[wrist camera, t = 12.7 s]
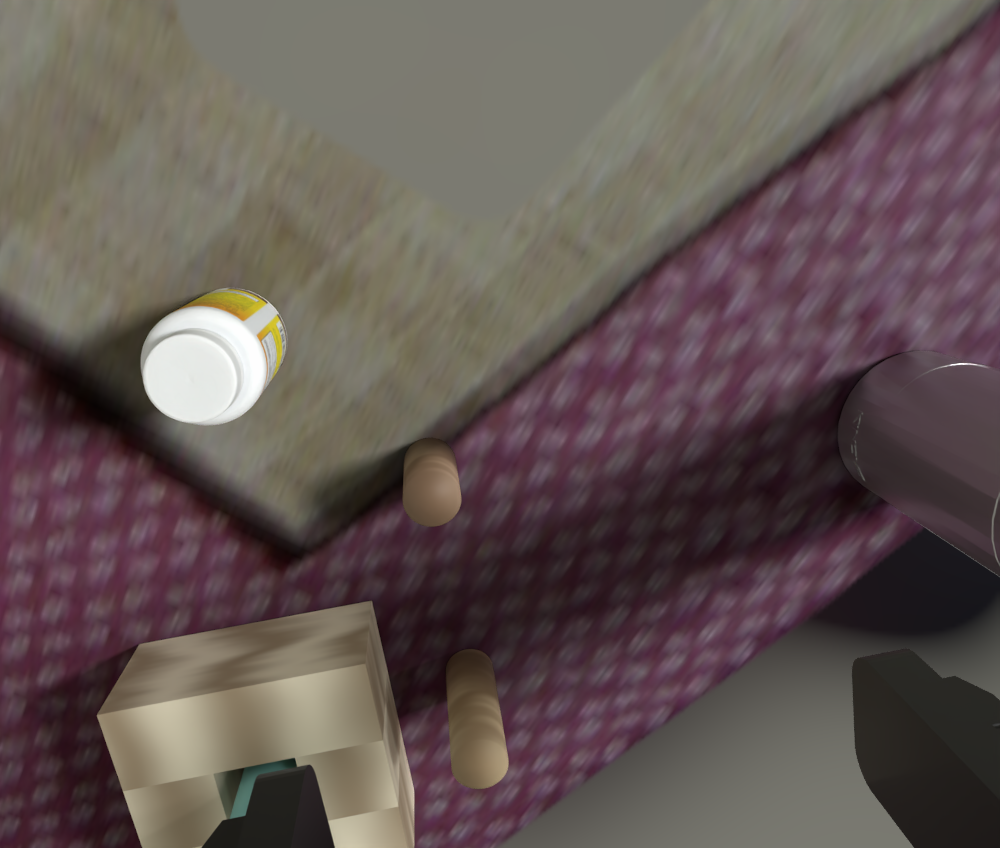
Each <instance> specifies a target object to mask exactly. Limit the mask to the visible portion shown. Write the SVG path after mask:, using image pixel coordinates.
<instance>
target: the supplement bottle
mask: <svg viewBox="0 0 1000 848" xmlns="http://www.w3.org/2000/svg"><path fill="white" fill-rule="evenodd" d="M286 351H287V332H286V328H285V325H284V323H283V320H282V318H281V316H280V315H279V313H278V312H277V310H276V309H275V308H274V307H273V306H272V305H271V304H270V303H269V302H268V301H267V300H266V299H264V298H263V297H261V296H259V295H258V294H256V293H253V292H251V291H248V290H244V289H239V288H223V289H218V290H215V291H212V292H210V293H207V294H205V295H203V296H202V297H200V298H198V299H196V300H194V301H192V302H191V303H189V304H187V305H185V306H183V307H181V308H179V309H177V310H175V311H174V312H172V313H170V314H169V315H167V316H166V317H164V318H163V319H162V320H160V321H159V322H158V323H157V324H156V325H155V326H154V327H153V328H152V330H151V331H150V333H149V334H148V336H147V338H146V340H145V342H144V345H143V348H142V352H141V373H142V377H143V383H144V388H145V390H146V393H147V395H148V397H149V399H150V400H151V402H152V403H153V404H154V405H155V407H156V408H157V409H158V410H160V411H161V412H162V413H164V414H165V415H166V416H168V417H170V418H172V419H175V420H177V421H181V422H186V423H191V424H196V425H218V424H223V423H227V422H229V421H232V420H234V419H236V418H238V417H240V416H241V415H243V414H244V413H245V412H247V411H248V410H249V409H250V408H251V407H252V406H253V405H254V404H255V402H256V401H257V400H258V398H259V397H260V396H261V394H262V393H263V391H264V390H265V388H266V387H267V386H268V384H269V383H270V381H271V380H272V378H273V377H274V376H275V374H276V373H277V371H278V370H279V368H280V367H281V365H282V363H283V360H284V358H285V355H286Z"/></svg>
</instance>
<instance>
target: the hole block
mask: <svg viewBox="0 0 1000 848" xmlns="http://www.w3.org/2000/svg"><path fill="white" fill-rule="evenodd" d="M97 717H98V720H99V723H100V726H101V729H102V732H103V735H104V738H105V741H106V743H107V746H108V749H109V752H110V755H111V758H112V761H113V764H114V767H115V770H116V773H117V776H118V778H119V781H120V784H121V787H122V790H123V793H124V796H125V799H126V802H127V805H128V808H129V810H130V813H131V816H132V819H133V822H134V825H135V828H136V831H137V834H138V837H139V840H140V842H141V845H142V848H201V847H202V846H203V845H204V844H205V842H206V841H207V840H208V838H209V837H210V836H211V834H212V833H213V832H214V831H215V829H216V828H217V827H218V825H219V824H220V823H221V821H222V820H226V819H230V816H231V812H232V809H233V805H234V802H235V798H236V795H237V792H238V788H239V785H240V781H241V778H242V775H243V771H244V768H245V767H250V766H255V765H260V764H265V763H270V762H275V761H281V760H286V759H291V758H295V760H296V764H297V767H299V766H304V765H309V764H310V765H311V766H312V767H313V769H314V771H315V774H316V777H317V781H318V784H319V788H320V792H321V796H322V800H323V804H324V807H325V811H326V815H327V819H328V823H329V826H330V830H331V834H332V838H333V842H334V846H335V848H414V788H413V783H412V779H411V774H410V770H409V765H408V761H407V756H406V752H405V747H404V743H403V738H402V734H401V729H400V725H399V720H398V716H397V711H396V707H395V702H394V698H393V693H392V689H391V684H390V680H389V675H388V671H387V666H386V662H385V657H384V653H383V648H382V644H381V639H380V635H379V630H378V626H377V621H376V617H375V612H374V608H373V603H372V601H367V602H362V603H356V604H351V605H346V606H340V607H335V608H330V609H324V610H319V611H314V612H308V613H303V614H298V615H292V616H287V617H282V618H276V619H271V620H266V621H260V622H255V623H250V624H244V625H239V626H234V627H228V628H223V629H218V630H212V631H207V632H202V633H196V634H191V635H186V636H180V637H175V638H170V639H164V640H159V641H154V642H148V643H143V644H139V646H138V647H137V649H136V651H135V652H134V654H133V656H132V657H131V659H130V661H129V662H128V664H127V666H126V667H125V669H124V671H123V672H122V674H121V676H120V677H119V679H118V681H117V682H116V684H115V686H114V687H113V689H112V691H111V692H110V694H109V696H108V697H107V699H106V701H105V702H104V704H103V706H102V707H101V709H100V711H99V712H98V714H97Z"/></svg>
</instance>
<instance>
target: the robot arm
mask: <svg viewBox="0 0 1000 848" xmlns="http://www.w3.org/2000/svg"><path fill="white" fill-rule="evenodd" d="M838 444H839V451H840V455H841V457H842V460H843V462H844V465H845V467H846V468H847V470H848V471H849V472H850V474H851V475H852V476H853V478H854V479H856V480H857V481H858V482H859V483H860V484H862V485H863V486H864V487H865V488H867V489H868V490H870V491H871V492H873V493H874V494H876V495H877V496H879V497H880V498H882V499H883V500H885V501H886V502H888V503H889V504H891V505H892V506H894V507H895V508H897V509H898V510H900V511H901V512H903V513H904V514H906V515H907V516H909V517H910V518H912V519H913V520H915V521H916V522H918V523H919V524H921V525H922V526H924V527H925V528H927V529H928V530H930V531H931V532H933V533H934V534H936V535H937V536H939V537H941V538H942V539H943V540H945V541H947V542H948V543H949V544H951V545H953V546H954V547H956V548H957V549H959V550H960V551H962V552H963V553H965V554H966V555H968V556H969V557H971V558H972V559H974V560H975V561H977V562H978V563H980V564H981V565H983V566H984V567H986V568H987V569H989V570H990V571H992V572H993V573H995V574H997V575H998V576H999V577H1000V370H999V369H996V368H993V367H990V366H987V365H983V364H974V363H971V362H968V361H965V360H961V359H958V358H955V357H951V356H948V355H945V354H941V353H938V352H934V351H920V350H918V351H912V352H906V353H901V354H899V355H896V356H893V357H891V358H888V359H886V360H885V361H883V362H881V363H880V364H878V365H877V366H875V367H873V368H872V369H871V370H870V371H869V372H868V373H867V374H866V375H864V376H863V377H862V378H861V379H860V380H859V382H858V383H857V384H856V386H855V387H854V388H853V390H852V391H851V392H850V394H849V396H848V398H847V400H846V402H845V404H844V406H843V409H842V412H841V416H840V420H839V424H838ZM852 682H853V706H854V732H855V749H856V755H857V759H858V763H859V766H860V769H861V772H862V774H863V776H864V779H865V781H866V783H867V785H868V786H869V788H870V790H871V791H872V793H873V794H874V795H875V797H876V798H877V799H878V801H879V802H880V803H881V804H882V806H883V807H884V809H885V810H886V811H887V812H888V814H889V815H890V816H891V818H892V819H893V820H894V822H895V823H896V824H897V826H898V827H899V828H900V830H901V831H902V832H903V833H904V835H905V836H906V838H907V839H908V840H909V841H910V843H911V844H912V845H913V847H914V848H1000V700H999V699H998V698H996V697H995V696H994V695H993V694H991V693H989V692H987V691H985V690H983V689H981V688H979V687H977V686H975V685H973V684H971V683H968V682H967V681H964V680H962V679H960V678H958V677H956V676H952V677H947V678H941V677H940V676H939V675H938V674H937V673H936V672H935V671H934V670H933V669H932V668H931V667H930V666H928V665H927V664H926V663H925V662H924V661H923V660H922V659H921V658H920V657H919V656H918V655H917V654H915V653H914V652H913V651H911V650H910V649H901V650H896V651H891V652H886V653H881V654H876V655H871V656H865V657H860V658H857V659H856V660H855V661H854V663H853V667H852ZM201 848H335V846H334V842H333V838H332V834H331V830H330V826H329V823H328V819H327V815H326V811H325V807H324V804H323V800H322V796H321V792H320V788H319V784H318V781H317V777H316V774H315V771H314V769H313V767H312V766H311V765H310V764H309V765H304V766H299V767H294V768H289V769H284V770H279V771H274V772H269V773H264V774H259V775H258V776H257V777H256V779H255V782H254V785H253V789H252V793H251V796H250V800H249V804H248V807H247V811H246V815H245V816H241V817H236V818H231V819H226V820H222V821H221V823H220V824H219V825H218V827H217V828H216V829H215V831H214V832H213V833H212V834H211V836H210V837H209V838H208V840H207V841H206V842H205V844H204V845H203V846H202V847H201Z"/></svg>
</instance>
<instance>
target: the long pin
mask: <svg viewBox="0 0 1000 848" xmlns="http://www.w3.org/2000/svg"><path fill="white" fill-rule="evenodd" d="M294 767H297V764H296V760H295V758H291V759H286V760H281V761H275V762H270V763H265V764H260V765H255V766H250V767H245V768H244V771H243V775H242V778H241V781H240V785H239V788H238V792H237V795H236V798H235V802H234V805H233V809H232V812H231V816H230V819H231V818H236V817H241V816H245V815H246V811H247V807H248V804H249V800H250V796H251V793H252V789H253V785H254V782H255V779H256V777H257V776H258V775H259V774H264V773H269V772H274V771H279V770H284V769H289V768H294Z"/></svg>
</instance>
